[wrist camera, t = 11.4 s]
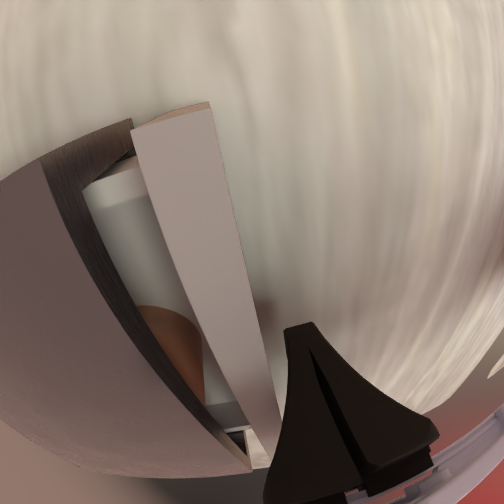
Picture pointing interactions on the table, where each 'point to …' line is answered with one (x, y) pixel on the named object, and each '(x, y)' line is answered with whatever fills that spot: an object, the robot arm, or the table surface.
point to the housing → (90, 335)
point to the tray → (190, 258)
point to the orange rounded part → (178, 344)
